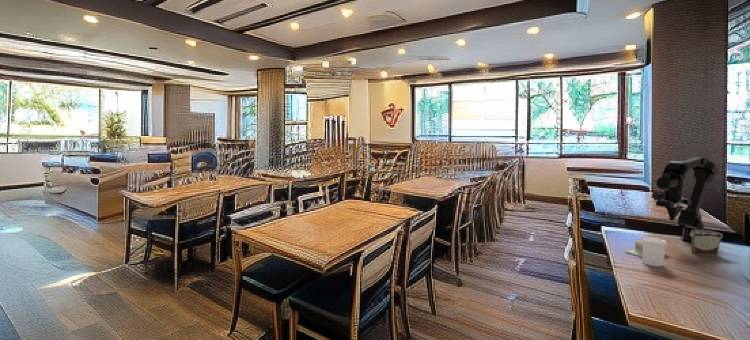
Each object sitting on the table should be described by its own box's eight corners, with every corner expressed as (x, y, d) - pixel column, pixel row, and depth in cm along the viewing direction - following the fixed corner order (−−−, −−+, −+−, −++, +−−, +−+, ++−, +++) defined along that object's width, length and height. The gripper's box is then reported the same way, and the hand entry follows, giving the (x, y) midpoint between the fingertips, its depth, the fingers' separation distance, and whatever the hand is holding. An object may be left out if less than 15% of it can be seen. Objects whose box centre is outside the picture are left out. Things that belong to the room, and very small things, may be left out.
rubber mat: (644, 248, 176) (644, 247, 176) (665, 254, 168) (665, 253, 168) (625, 252, 170) (625, 251, 170) (646, 258, 162) (646, 257, 162)
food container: (709, 251, 173) (712, 229, 172) (720, 255, 167) (723, 233, 166) (681, 250, 174) (683, 228, 173) (690, 254, 168) (693, 232, 167)
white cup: (660, 261, 158) (662, 238, 157) (667, 268, 151) (670, 243, 150) (638, 259, 161) (640, 236, 160) (644, 265, 154) (646, 241, 152)
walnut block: (651, 237, 174) (635, 240, 169) (663, 240, 170) (647, 243, 165) (650, 248, 175) (634, 251, 170) (662, 251, 170) (646, 254, 165)
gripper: (667, 184, 190) (664, 215, 192) (645, 186, 183) (642, 218, 184) (693, 187, 180) (690, 219, 182) (671, 190, 173) (667, 223, 174)
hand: (671, 220), depth 181 cm, fingers closed
